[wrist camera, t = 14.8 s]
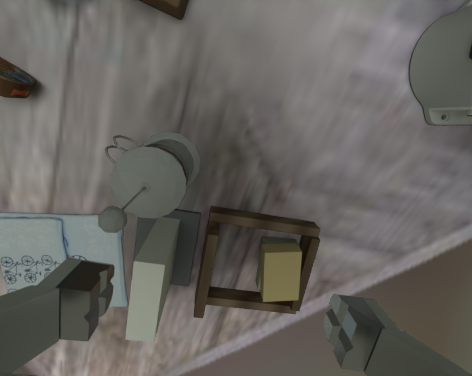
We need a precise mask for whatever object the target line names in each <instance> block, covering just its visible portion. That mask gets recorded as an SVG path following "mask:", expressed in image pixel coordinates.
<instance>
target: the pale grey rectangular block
mask: <svg viewBox="0 0 472 376" xmlns="http://www.w3.org/2000/svg"><path fill="white" fill-rule="evenodd" d="M179 225H180V219H173V218H166V217H159V218H158V219H157V221H156V223H155V225H154V226H153V228H152V230H151V232H150V233H149V235H148V237H147V239H146V241H145V242H144V244H143V246H142V248H141V249H140V251H139V253H138V255H137V257H136V258H135V260H134V265H133V274H132V283H131V293H130V302H129V311H128V321H127V330H126V340H137V341H148V342H154V341H155V337H156V333H157V330H158V326H159V322H160V318H161V315H162V311H163V307H164V304H165V300H166V296H167V293H168V289H169V285H170V281H171V278H172V272H173V265H174V258H175V252H176V245H177V238H178V232H179Z"/></svg>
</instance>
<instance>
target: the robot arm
mask: <svg viewBox="0 0 472 376" xmlns="http://www.w3.org/2000/svg"><path fill="white" fill-rule="evenodd" d="M410 81H411V86H412V89H413V91H414V94H415V96H416V97H417V99H418V100H419V101H420V103H421V104H422V106H423V108H424V114H425V118H426V121H427V123H428V124H430V125H472V0H468V1H466V2H465V3H464V4H463V5H462V6H461V7H460V8H459V9H458V10H457V11H455V12H453V13H451V14H448V15H446V16H444V17H442V18H440V19H439V20H437V21H436V22H434V23H433V24H432V25H431V26H430V27H429V28H428V29H427V30H426V31H425V32H424V34H423V35H422V36H421V38H420V39H419V41H418V43H417V45H416V47H415V49H414V52H413V55H412V59H411V64H410ZM442 116H443V117H442ZM441 117H442V119H441ZM114 269H115V267H114V265H113V264H108V263H101V262H95V261H89V260H82V259H74V258H68V259H66V260H64V261H63V262H62V263H61V264H60V265H59V266H58V267H57V268H55V269H54V270H53V271H52V272H51V273H50V274H49V275H48V276H46V277H45V278H44V279H43V280H42V281H41V282H40V283H39V284H38V285H36V286H35V285H30V286H27V287H24V288H22V289H19V290H16V291H13V292H10V293H8V294H5V295H2V296H0V376H35V375H23V374H14V373H12V372H14V371H15V370H17V369H18V368H20V367H21V366H23V365H24V364H26V363H27V362H29V361H30V360H31V359H33V358H34V357H36V356H37V355H39V354H40V353H42V352H43V351H45V350H46V349H48V348H49V347H50V346H52V345H53V344H55V343H56V342H58V341H59V339H64V340H77V341H89V339H90V337H91V336H92V334H93V332H94V331H95V329H96V328H97V326H98V322H99V317H101V316H103V315H104V314H105V313H106V311H107V309H108V307H109V305H110V302H111V299H112V295H113V287H114V286H113V285H112V283H111V282H110V281H111V279H112V278H113V276H114ZM329 304H330V306H331V308H332V309H330V310H329V311H328V312H327V313H326V315H325V319H324V331H325V335H326V337H327V339H328V341H329V342H330V343H331V344H333V345H334V349H333V352H334V355H335V357H336V359H337V361H338V363H339V365H340V368H341V369H348V370H355V371H363V372H365V374H366V375H367V376H472V374H470V373H469V372H467V371H465V370H464V369H463V368H461V367H459V366H458V365H456V364H455V363H453V362H452V361H450V360H449V359H447V358H445V357H444V356H442V355H441V354H439V353H438V352H436V351H435V350H433V349H432V348H430V347H428V346H427V345H425V344H424V343H422V342H421V341H419V340H417V339H416V338H414V337H413V336H411V335H410V334H408V333H407V332H405V331H401V330H400V329H399V328H398V327H397V326H396V324H395V323H394V322H393V321H392V320H391V318H390V317H389V316H388V315H387V314H386V312H385V311H384V310H383V309H382V307H381V306H380V305H379V304H378V303H377V301H375V300H374V299H372V298H366V297H354V296H345V295H337V294H334V295H333V296H332V297H331V299H330V302H329Z"/></svg>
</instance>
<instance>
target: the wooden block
mask: <svg viewBox="0 0 472 376" xmlns="http://www.w3.org/2000/svg"><path fill="white" fill-rule="evenodd" d="M140 1H142V2H144V3H147V4H149V5H151V6H153V7H155V8H157V9H159V10H161V11H163V12H166V13H168V14H170V15H172V16H174V17H176V18H178V19H182V18H183V15H184V12H185V9H186V6H187V3H188V0H140Z"/></svg>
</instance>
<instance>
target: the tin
mask: <svg viewBox="0 0 472 376" xmlns="http://www.w3.org/2000/svg"><path fill="white" fill-rule="evenodd" d="M34 84H35V80H34V79H33V77H31V76H30V75H29V74H28V73H26V72H25V71H23V70H21V69H20V68H18V67H16V66H15V65H13V64H11V63H9V62H8V61H6V60H4V59H2V58H1V57H0V96H3V97H8V98H27V97H28V96H29V94H30V92H31V89H32V87H33V85H34Z"/></svg>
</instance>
